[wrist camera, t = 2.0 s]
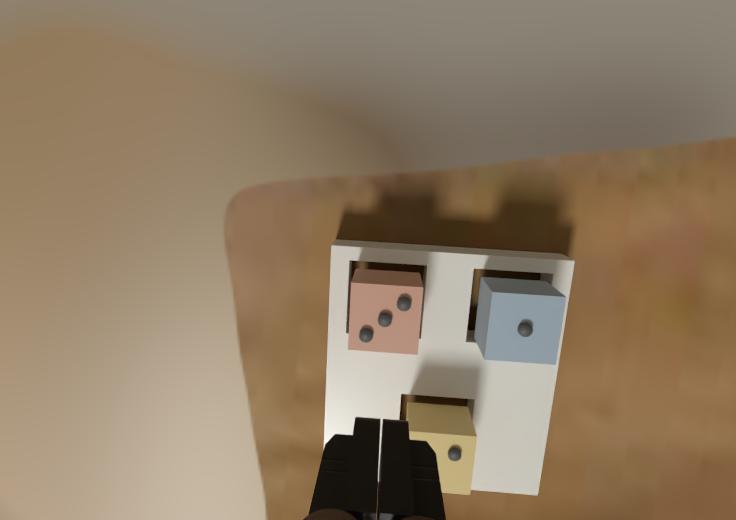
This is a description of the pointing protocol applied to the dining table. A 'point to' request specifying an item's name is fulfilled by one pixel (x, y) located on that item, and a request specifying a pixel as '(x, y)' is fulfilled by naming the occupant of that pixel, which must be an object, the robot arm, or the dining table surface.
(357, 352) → the tile board
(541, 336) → the tile one
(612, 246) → the dining table surface
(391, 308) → the tile three
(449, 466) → the tile two
